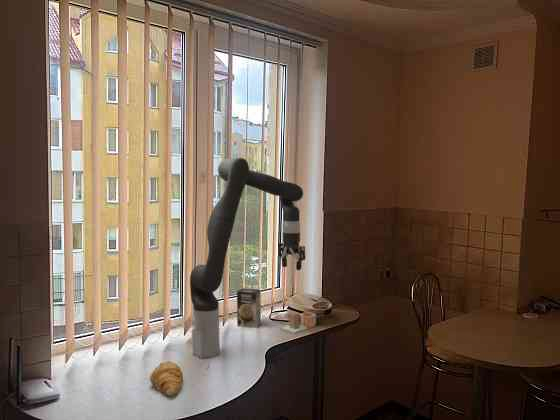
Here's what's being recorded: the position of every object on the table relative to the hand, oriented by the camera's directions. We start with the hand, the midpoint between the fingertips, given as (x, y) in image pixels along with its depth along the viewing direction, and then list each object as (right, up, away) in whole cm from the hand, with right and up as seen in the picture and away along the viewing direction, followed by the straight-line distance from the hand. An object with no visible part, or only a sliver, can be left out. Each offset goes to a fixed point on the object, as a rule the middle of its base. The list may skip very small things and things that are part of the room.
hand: (291, 268), depth 202 cm
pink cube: (+7, -25, +2) cm, 27 cm away
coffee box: (-18, -26, +3) cm, 32 cm away
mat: (+1, -26, -3) cm, 26 cm away
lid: (+1, -25, -3) cm, 26 cm away
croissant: (-42, -31, -51) cm, 73 cm away
